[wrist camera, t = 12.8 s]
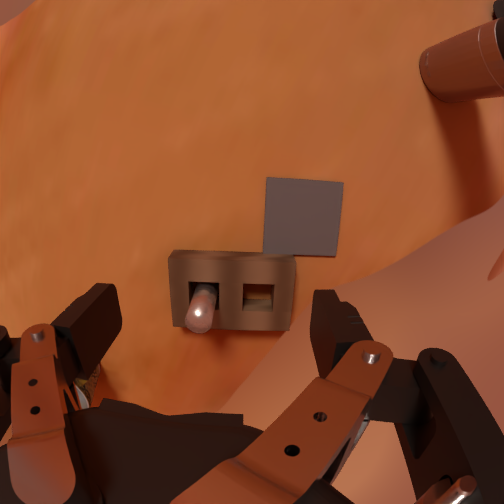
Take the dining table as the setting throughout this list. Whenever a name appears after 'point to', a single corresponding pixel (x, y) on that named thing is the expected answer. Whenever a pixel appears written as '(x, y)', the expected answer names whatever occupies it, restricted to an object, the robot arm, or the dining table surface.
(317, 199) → the mat
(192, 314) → the pin
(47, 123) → the dining table surface
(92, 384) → the ceramic cup
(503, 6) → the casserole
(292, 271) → the socket block
